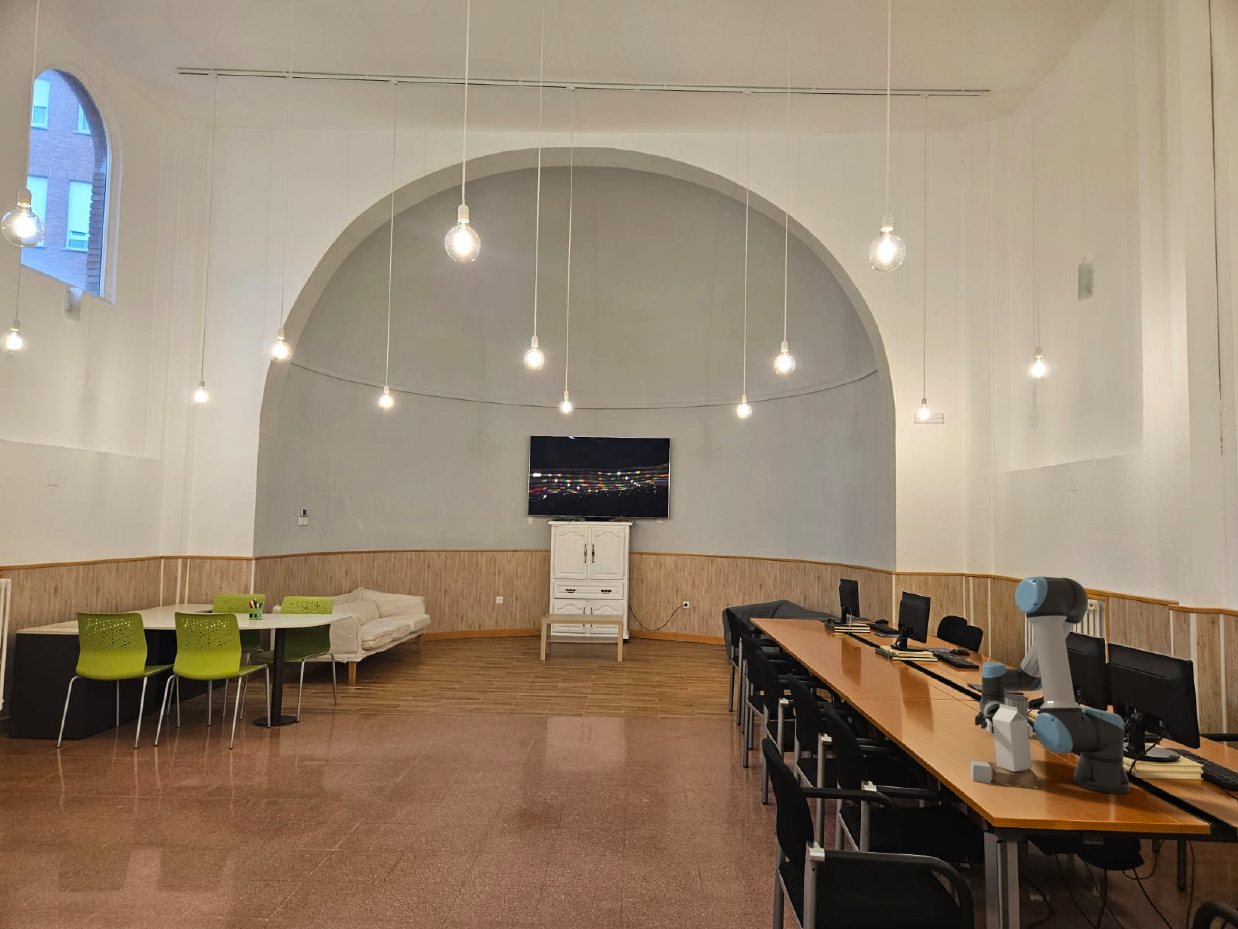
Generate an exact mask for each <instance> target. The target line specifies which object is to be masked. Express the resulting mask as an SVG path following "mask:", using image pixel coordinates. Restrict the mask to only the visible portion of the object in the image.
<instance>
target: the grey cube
mask: <svg viewBox="0 0 1238 929" xmlns="http://www.w3.org/2000/svg"><path fill="white" fill-rule="evenodd" d="M969 775H970V779H971V778H972V779H971V780H972V782H975V781H980V782H979V783H983V782H985V784H991V781H992V779H991V766H990V765H989V764H988V762H986V761H976V760H970V774H969Z"/></svg>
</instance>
